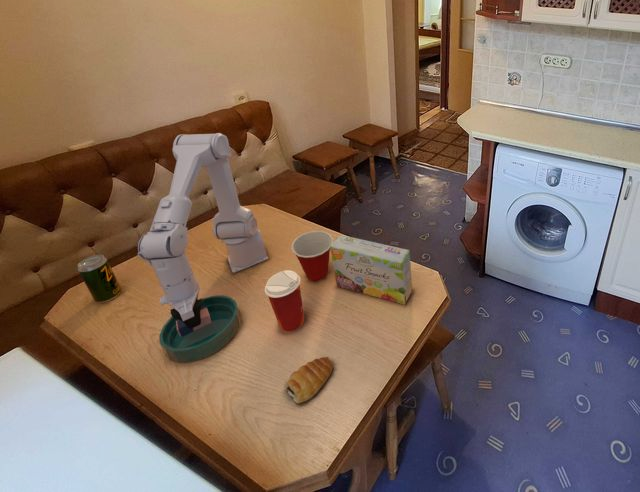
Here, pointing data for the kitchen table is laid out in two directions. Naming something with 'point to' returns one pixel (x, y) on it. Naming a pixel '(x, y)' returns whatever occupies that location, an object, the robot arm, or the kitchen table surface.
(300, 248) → the plastic cup
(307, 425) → the kitchen table surface
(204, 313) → the eraser
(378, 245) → the snack box
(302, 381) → the pastry
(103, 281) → the beer can
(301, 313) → the paper cup
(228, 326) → the bowl
